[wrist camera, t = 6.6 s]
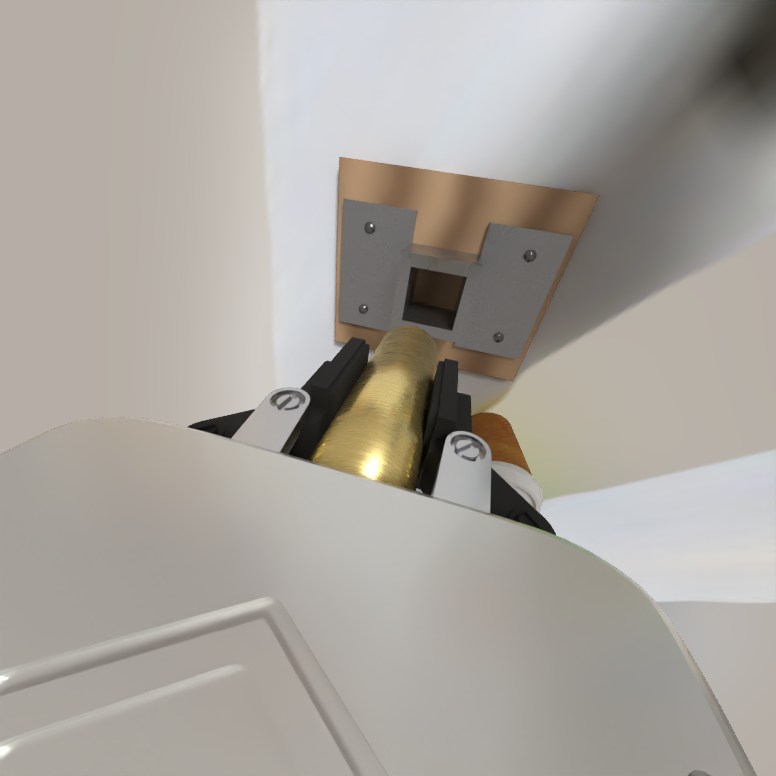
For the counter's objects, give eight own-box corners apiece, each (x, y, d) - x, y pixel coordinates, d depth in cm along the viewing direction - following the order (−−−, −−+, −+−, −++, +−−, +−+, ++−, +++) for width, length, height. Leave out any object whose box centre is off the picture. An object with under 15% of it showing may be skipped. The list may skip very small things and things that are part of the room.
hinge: (571, 235, 24) (598, 242, 19) (517, 357, 31) (526, 385, 26) (345, 198, 26) (318, 196, 22) (341, 319, 33) (319, 338, 28)
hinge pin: (455, 326, 13) (442, 534, 5) (436, 393, 15) (403, 615, 7) (376, 309, 13) (237, 472, 5) (368, 376, 15) (261, 567, 7)
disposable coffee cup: (541, 429, 37) (569, 511, 27) (488, 464, 42) (495, 543, 32) (485, 389, 35) (492, 459, 25) (438, 430, 41) (429, 502, 31)
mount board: (593, 195, 23) (599, 194, 22) (511, 375, 33) (513, 381, 32) (344, 158, 26) (339, 156, 25) (338, 337, 36) (335, 340, 35)
